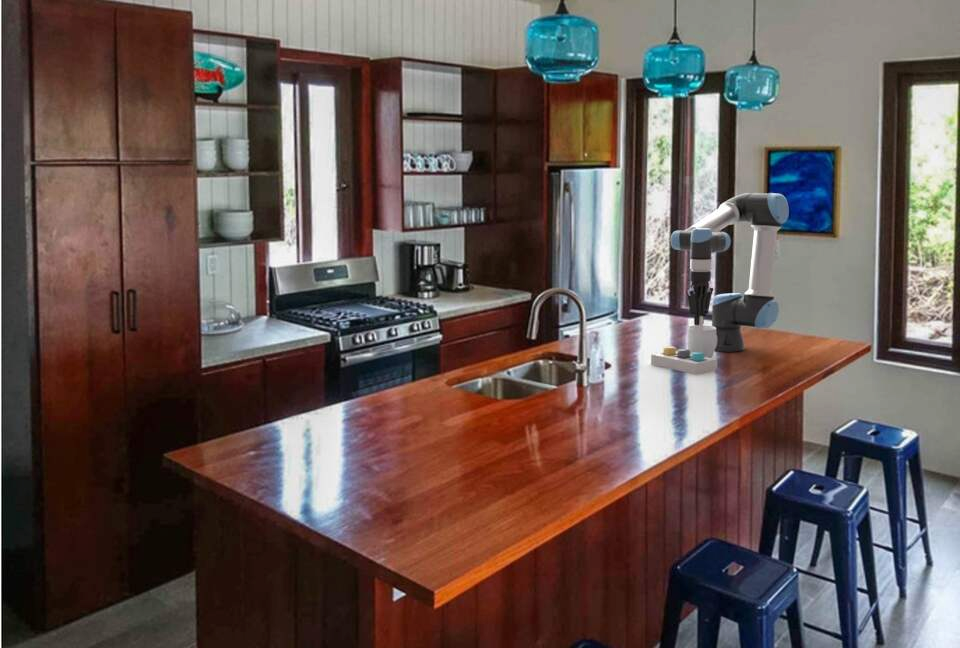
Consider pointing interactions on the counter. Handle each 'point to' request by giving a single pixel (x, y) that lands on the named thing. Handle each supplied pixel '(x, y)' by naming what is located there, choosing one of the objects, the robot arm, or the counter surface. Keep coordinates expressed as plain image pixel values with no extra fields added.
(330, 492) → the counter surface
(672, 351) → the mustard button
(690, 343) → the mug
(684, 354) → the charcoal button
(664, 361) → the console
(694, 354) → the teal button
